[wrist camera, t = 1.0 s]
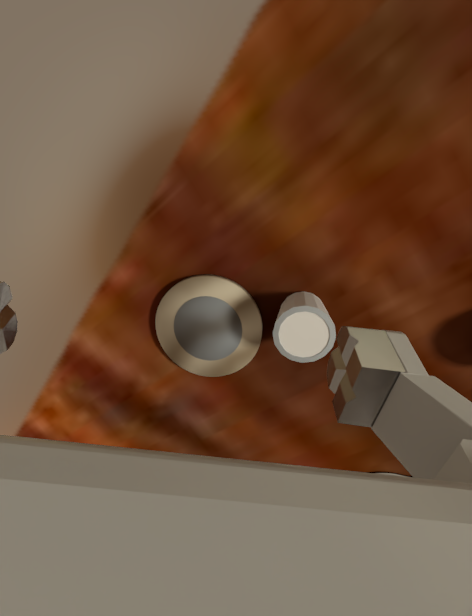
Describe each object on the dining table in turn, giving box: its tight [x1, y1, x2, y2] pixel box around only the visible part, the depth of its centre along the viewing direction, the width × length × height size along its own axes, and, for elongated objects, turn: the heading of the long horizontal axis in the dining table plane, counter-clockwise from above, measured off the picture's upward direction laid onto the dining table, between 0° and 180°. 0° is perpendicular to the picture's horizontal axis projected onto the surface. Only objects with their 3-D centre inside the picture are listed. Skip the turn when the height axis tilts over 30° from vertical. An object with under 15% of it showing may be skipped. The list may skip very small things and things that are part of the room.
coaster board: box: [155, 274, 263, 377], centre depth 51 cm, size 14×14×1 cm
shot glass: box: [273, 291, 336, 363], centre depth 46 cm, size 7×7×7 cm
